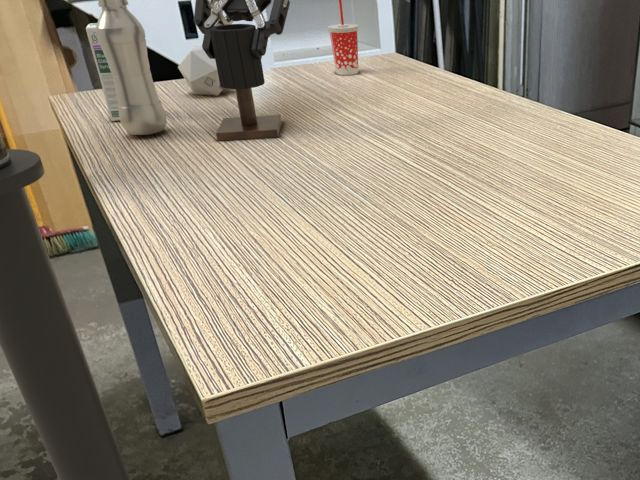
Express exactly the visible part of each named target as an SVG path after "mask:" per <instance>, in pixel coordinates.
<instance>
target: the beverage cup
mask: <svg viewBox="0 0 640 480" xmlns="http://www.w3.org/2000/svg"><path fill="white" fill-rule="evenodd" d="M338 2H339V13H340V23H339V24H338V23H337V24H331V25H328V26H327V29H328V30H327V31H328V32H329V38H330V43H331V48H332V56H333V61H334V68H335V72H336V75H339V76H350V75H351V76H352V75H357V74H359V49H358V48H359V47H358V46H359V44H358V31H359V25H358V24H355V23H344V22H345V21H344V12H343V4H342V3H343V2H342V0H338Z"/></svg>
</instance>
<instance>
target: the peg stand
mask: <svg viewBox="0 0 640 480" xmlns="http://www.w3.org/2000/svg"><path fill="white" fill-rule="evenodd" d="M252 89H253V88H248V89H247V88H246V89H234V90H235V91H234V92H235V96H236V102H237V107H238V112H239V116H236V117H223V118H222V121H221V123H220V125H219V127H218V129H217V131H216V140H217V141H218V142H222V141H239V140H240V141H241V140H254V139H255V140H256V139H272V138H279V136H280V132H281V131H280V130H281V126H282V115H281V114H271V115H269V114H267V115H257V111H256V107H255V100H254V95H253V90H252Z"/></svg>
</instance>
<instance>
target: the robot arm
mask: <svg viewBox="0 0 640 480" xmlns="http://www.w3.org/2000/svg"><path fill="white" fill-rule="evenodd" d="M194 4H195V6H194V14H193V23H194V24H195V26H196V27H197V29H198V30H199V31H200V33H202V34H203V38H202V44H201V46H202V48H203V50H204V51H205V53H206V54H207V56H208V57H209V58H210V59H215V56H214V51H213V46H212V41H211V36H210V31H209V29H210V28H211V27H214V26H219V25H227V24H229V25H230V24H234V22H240V21H245V22H253V21H254V24H255V26H256V29H254V35H253V41H252V46H251V52H252V54H253V56H254V57H255V59H261V60H262V58H263V57H264V56H265V55H266V52H267V47H268V42H269V38H270V37H271V36H272V35H274V34H275V35H277V36H279V35H282V34H283V32H284V28H285V24H286V21H287V16H288V12H289V9H290V4H291V1H290V0H195V3H194ZM271 4H272V7H271V11H270V14H269V18H268V20H266V18H265V16H264V14H263V12H264V11H265V10H266V9H267V8H268V7H269V6H270V5H271ZM223 13H224V14H225V15H224V14H223ZM7 149H8V148H7V146H6V144H5V141H4V139H3V136H2V133H1V132H0V169H2V168H4V167H6V166H8V165H9V164H10V163H11V158H10V155H9V153H8V152H7Z"/></svg>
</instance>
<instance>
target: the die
mask: <svg viewBox="0 0 640 480" xmlns="http://www.w3.org/2000/svg"><path fill="white" fill-rule="evenodd" d="M177 69H178V70H179V72H180V74H181V75H182V77H183V78H184V80H185V82H186V83H187V85H188V86H189V88H190V90H191V91H192V93H193V95H200V96H212V97H213V96H215V97H217V96H219V95H220V94H221V93H222V92H223V90H224V89H225V88H223V87H221V86H220V81H219V76H218V71H217V66H216V61H215V59H210V58H209V57H208V56H207V54H206V53H205V51H204V50H203V48H202V45H201V46H199V45H195V46H193V48H192V49H191V50H190V51H189V53H188V54H187V55H186V56H185V58H183V60H182V61H181V63H179V65H178V66H177Z"/></svg>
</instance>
